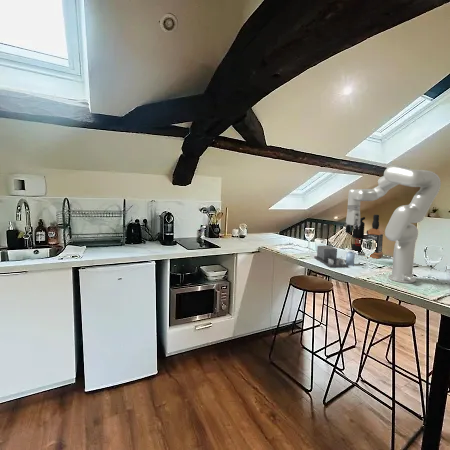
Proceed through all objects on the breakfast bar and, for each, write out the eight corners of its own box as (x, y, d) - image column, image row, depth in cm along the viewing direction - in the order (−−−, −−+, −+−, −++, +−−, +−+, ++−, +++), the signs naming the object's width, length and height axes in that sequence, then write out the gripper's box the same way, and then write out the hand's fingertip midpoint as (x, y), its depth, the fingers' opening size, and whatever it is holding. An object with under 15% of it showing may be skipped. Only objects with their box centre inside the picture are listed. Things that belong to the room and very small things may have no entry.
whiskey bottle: (369, 254, 216) (371, 214, 212) (382, 256, 209) (386, 214, 205) (363, 256, 209) (366, 214, 205) (377, 259, 202) (381, 215, 198)
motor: (348, 267, 178) (348, 253, 177) (329, 267, 177) (330, 253, 176) (328, 257, 206) (329, 244, 205) (312, 257, 206) (313, 244, 205)
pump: (355, 265, 183) (356, 252, 182) (348, 265, 182) (349, 252, 181) (351, 263, 188) (352, 251, 187) (344, 263, 187) (345, 251, 186)
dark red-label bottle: (367, 255, 213) (370, 216, 209) (357, 256, 210) (360, 217, 207) (354, 251, 226) (356, 215, 222) (345, 252, 223) (347, 215, 220)
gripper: (366, 209, 173) (364, 236, 175) (352, 207, 190) (350, 231, 192) (355, 209, 172) (352, 236, 175) (341, 207, 190) (340, 231, 192)
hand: (351, 233), depth 184 cm, fingers open, 9 cm apart
